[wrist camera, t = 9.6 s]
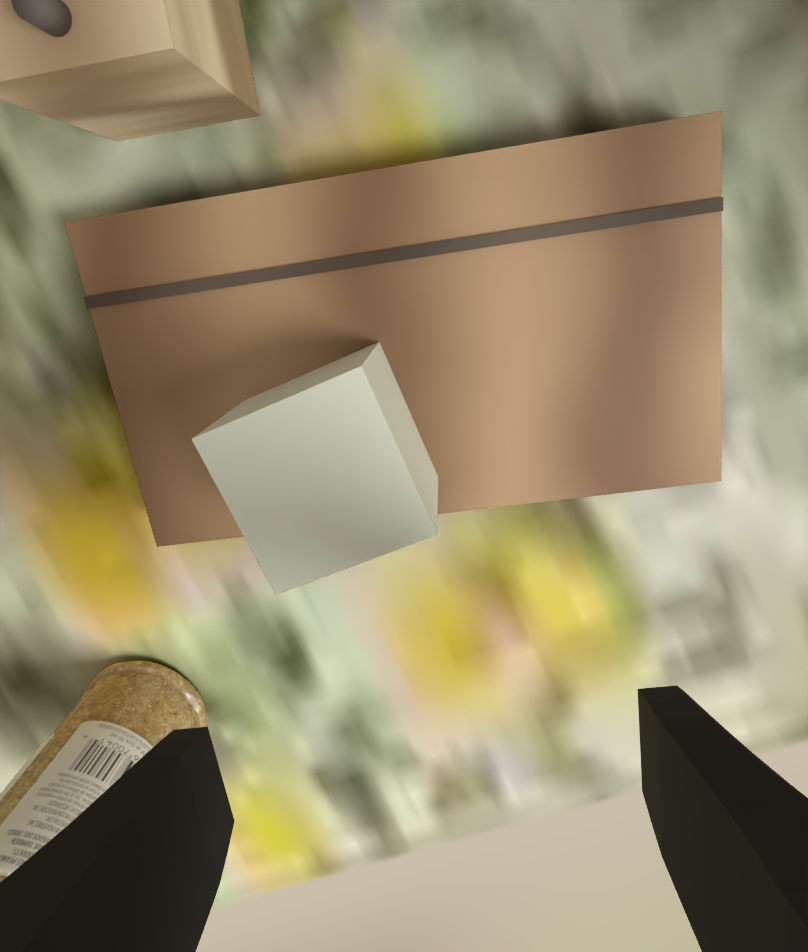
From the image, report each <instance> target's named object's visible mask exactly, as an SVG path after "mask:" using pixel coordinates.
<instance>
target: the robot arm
mask: <svg viewBox="0 0 808 952" xmlns="http://www.w3.org/2000/svg"><path fill="white" fill-rule="evenodd" d="M638 704H639V726H640V748H641V770H642V791H643V794H644V798H645V802H646V805H647V808H648V812H649V815H650V819H651V822H652V825H653V829H654V832H655V835H656V838H657V842H658V845H659V848H660V851H661V854H662V857H663V860H664V862H665V865H666V867H667V870H668V872H669V874H670V876H671V879H672V881H673V884H674V886H675V889H676V891H677V893H678V896H679V898H680V901H681V903H682V905H683V908H684V910H685V913H686V915H687V917H688V920H689V922H690V924H691V927H692V929H693V931H694V934H695V936H696V938H697V940H698V943H699V946H700V948H701V950H702V952H808V798H807V797H806V796H804V795H803V794H802V793H800V792H799V791H798V790H797V789H795V788H794V787H793V786H792V785H790V784H789V783H788V782H787V781H785V780H784V779H783V778H782V777H781V776H780V775H778V774H777V773H776V772H775V771H773V770H772V769H771V768H770V767H769V766H767V765H766V764H765V763H764V762H763V761H761V760H760V759H759V758H758V757H757V756H756V755H754V754H753V753H752V752H751V751H750V750H749V749H747V748H746V747H745V746H744V745H743V744H742V743H741V742H739V741H738V740H737V739H736V738H735V737H734V736H733V735H732V734H730V733H729V732H728V731H727V730H726V729H725V728H724V727H723V726H721V725H720V724H719V723H718V722H717V721H716V720H715V719H714V718H713V717H711V716H710V715H709V714H708V713H707V712H706V711H705V710H704V709H703V708H702V707H701V706H699V705H698V704H697V703H696V702H695V701H694V700H693V699H692V698H691V697H690V696H689V695H687V694H686V693H685V692H684V691H683V690H682V689H680V688H679V687H678V686H667V687H656V688H644V689H638ZM233 825H234V818H233V815H232V811H231V808H230V804H229V801H228V797H227V794H226V790H225V787H224V783H223V780H222V776H221V773H220V769H219V766H218V762H217V758H216V755H215V751H214V748H213V744H212V741H211V737H210V734H209V730H208V727H199V728H187V729H176V730H173V731H171V732H170V733H169V734H168V735H167V736H165V737H164V738H163V739H162V740H161V741H160V742H158V743H157V744H156V745H155V746H154V747H153V748H152V749H151V750H149V751H148V752H147V753H146V754H145V755H144V756H143V757H142V758H141V759H140V760H139V761H137V762H136V763H135V764H134V765H133V766H132V767H131V768H130V769H129V770H128V771H127V772H126V773H125V774H123V775H122V776H121V777H120V778H119V779H118V780H117V781H116V782H115V783H114V784H113V785H112V786H110V787H109V788H108V789H107V790H106V791H105V792H104V793H103V794H102V795H101V796H100V797H98V798H97V799H96V800H95V801H94V802H93V803H92V804H91V805H90V806H89V807H87V808H86V809H85V810H84V811H83V812H82V813H81V814H80V815H79V816H78V817H77V818H75V819H74V820H73V821H72V822H71V823H70V824H69V825H68V826H66V827H65V828H64V829H63V830H62V831H60V832H59V833H58V834H57V835H56V836H55V837H53V838H52V839H51V840H50V841H49V842H48V843H46V844H45V845H44V846H43V847H42V848H41V849H39V850H38V851H37V852H36V853H35V854H34V855H32V856H31V857H30V858H29V859H28V860H27V861H25V862H24V863H23V864H22V865H21V866H19V867H18V868H17V869H16V870H15V871H14V872H12V873H11V874H10V875H9V876H8V877H6V878H5V879H4V880H3V881H1V882H0V952H196V949H197V946H198V943H199V940H200V938H201V935H202V932H203V930H204V927H205V924H206V921H207V918H208V916H209V913H210V910H211V907H212V904H213V902H214V899H215V896H216V893H217V890H218V887H219V884H220V880H221V876H222V872H223V868H224V864H225V860H226V856H227V852H228V847H229V843H230V838H231V834H232V829H233Z"/></svg>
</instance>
